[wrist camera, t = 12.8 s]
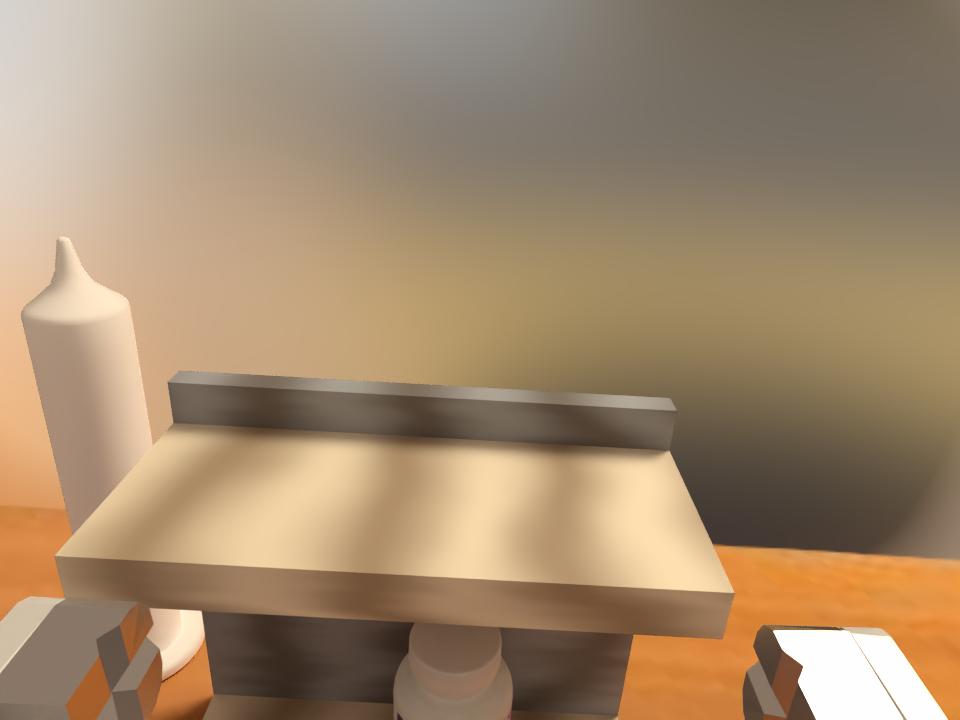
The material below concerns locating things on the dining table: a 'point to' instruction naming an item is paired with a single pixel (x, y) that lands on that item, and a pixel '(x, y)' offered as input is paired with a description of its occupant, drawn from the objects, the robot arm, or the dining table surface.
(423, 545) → the small wooden shelf
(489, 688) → the pill bottle
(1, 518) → the dining table surface
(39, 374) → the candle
